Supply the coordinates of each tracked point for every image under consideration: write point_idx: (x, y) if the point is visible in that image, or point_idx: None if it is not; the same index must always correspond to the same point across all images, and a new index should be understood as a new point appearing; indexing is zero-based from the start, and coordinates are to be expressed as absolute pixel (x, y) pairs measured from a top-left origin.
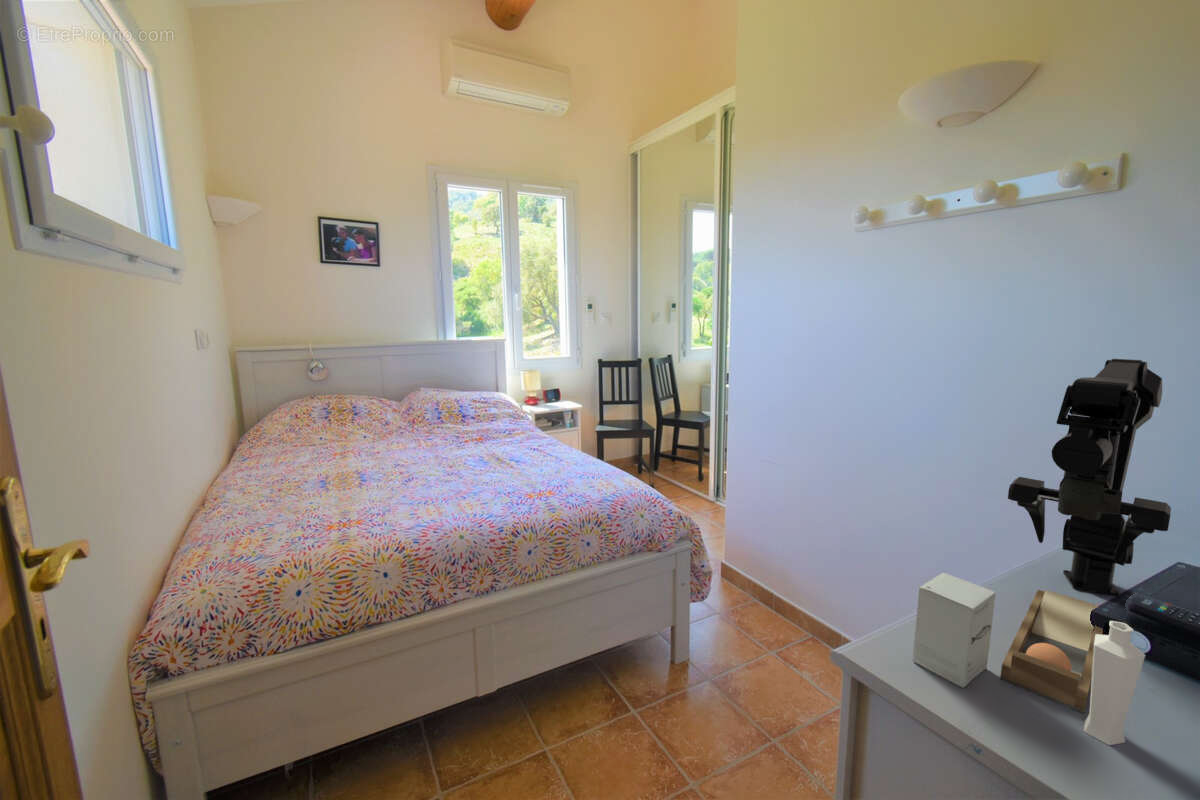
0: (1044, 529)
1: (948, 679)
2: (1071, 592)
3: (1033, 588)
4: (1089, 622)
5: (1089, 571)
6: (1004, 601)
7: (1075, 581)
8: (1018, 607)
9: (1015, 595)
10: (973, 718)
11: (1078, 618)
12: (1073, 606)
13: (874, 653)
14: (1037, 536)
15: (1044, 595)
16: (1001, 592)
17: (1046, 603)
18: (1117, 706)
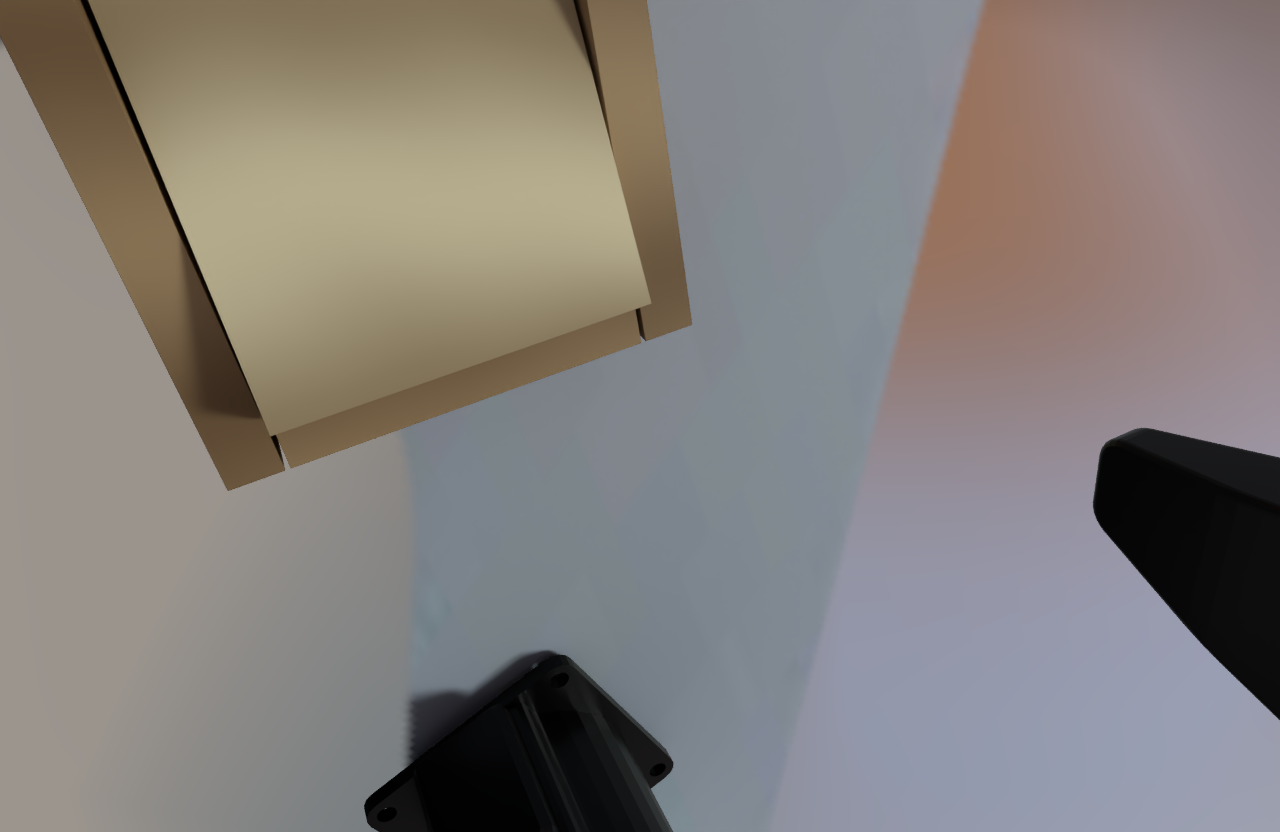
0: (1256, 678)
1: None
2: (550, 604)
3: (715, 442)
4: (194, 141)
5: (552, 811)
6: (790, 65)
7: (583, 716)
8: (696, 64)
9: (764, 237)
10: None
11: (286, 122)
12: (399, 259)
13: None
14: (1257, 456)
15: (624, 222)
16: (839, 189)
17: (566, 129)
18: None
